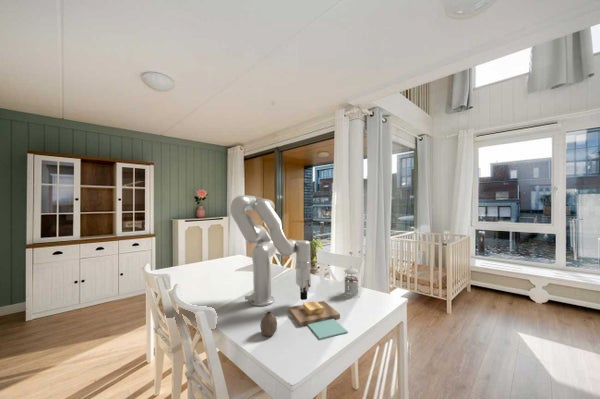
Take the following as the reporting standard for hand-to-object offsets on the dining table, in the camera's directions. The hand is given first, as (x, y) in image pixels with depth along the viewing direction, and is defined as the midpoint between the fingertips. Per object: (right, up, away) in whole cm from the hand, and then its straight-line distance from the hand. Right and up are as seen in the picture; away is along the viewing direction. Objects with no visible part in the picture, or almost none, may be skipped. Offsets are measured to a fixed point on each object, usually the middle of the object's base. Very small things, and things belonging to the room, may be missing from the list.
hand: (303, 299), depth 130 cm
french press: (+28, -3, +14) cm, 31 cm away
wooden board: (+4, -3, -11) cm, 12 cm away
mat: (+10, -3, -24) cm, 26 cm away
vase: (-15, -4, -27) cm, 31 cm away
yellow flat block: (+4, -1, -11) cm, 12 cm away
